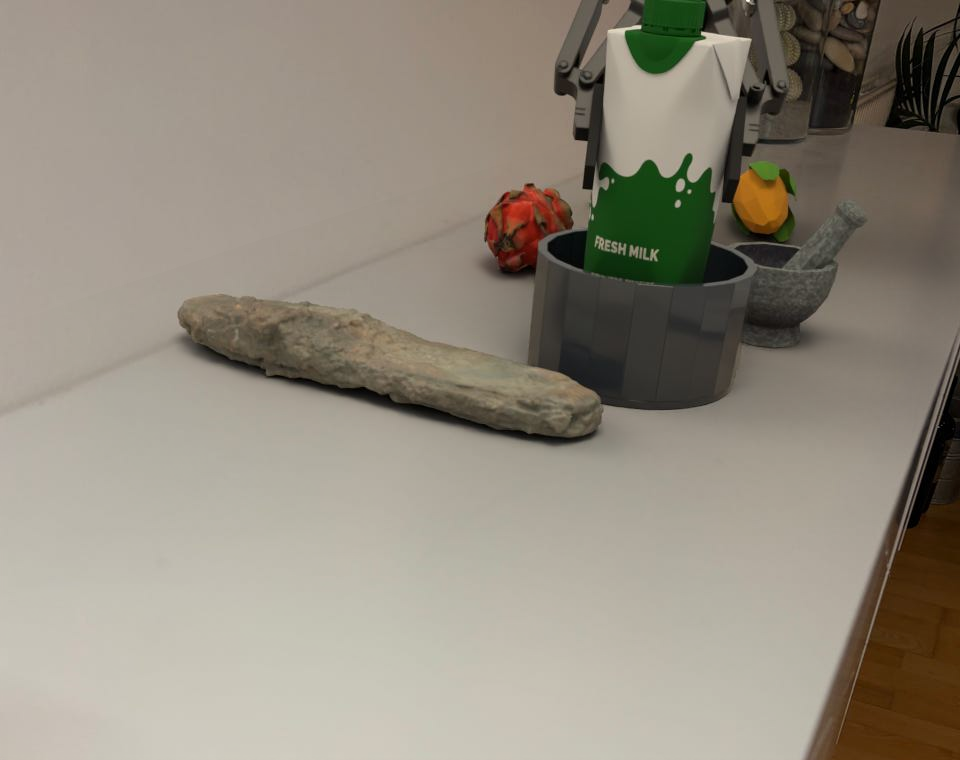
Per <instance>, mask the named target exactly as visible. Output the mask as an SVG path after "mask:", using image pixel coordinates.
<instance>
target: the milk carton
mask: <svg viewBox="0 0 960 760" xmlns="http://www.w3.org/2000/svg"><path fill="white" fill-rule="evenodd" d="M705 8H706V2H705V1H700V0H645V1H644V8H643V15H642V21H641V22H642V25H635V26H632V27H627V28H619V29H613V28H612V29H608V30H607V35H606V37H607V53H606V71H605V87H604V98H603V108H602V116H601V125H600V133H599V141H598V150H597V158H596V167H595V175H594V183H593V190H591V191H592V197H591V196H590V206H589V215H588V224H587V228H588V230H587V239H586V249H585V260H584V270H585V271H589V272H593V273H596V274H600V275H604V276H610V277H616V278H622V279H628V280H634V281H640V282H652V283H664V284H702V281H703V277H704V272H705V268H706V263H707V259H708V255H709V250H710V245H711V241H713V235H714V230H715V225H716V221H717V215H718V210H719V204H720V199H721V196H722V193H721V192H722V190H723V180H724V172H725V166H726V161H727V155H728V150H729V144H730V139H731V133H732V128H733V122H734V116H735V112H736V106H737V101H738V99H739V94H740V88H741V83H742V79H743V74H744V70H745V65H746V61H747V57H748V58H749V52H750V47H751V44H752V38H749V37H739V36H738V37H733V36H725V35H718V34H713V33H707V32H701V31H702V28H703V21H704V14H705Z"/></svg>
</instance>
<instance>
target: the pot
mask: <svg viewBox="0 0 960 760" xmlns="http://www.w3.org/2000/svg"><path fill="white" fill-rule="evenodd" d="M587 230H588V227H583V228H572V229H571V230H566V231H562V232H558V233H554V234H550V235H548V236H547V237H545V238H544V239H542V240H541V241H539V242H538V252H537V263H536V269H535V275H534V285H533V286H534V287H533V296H532V307H531V317H530V327H529V328H530V330H529V340H528V349H527V350H528V352H527V366H531V367H539V368H543V369H547V370H550V371H554V372H558V373H561V374H564V375H565V376H568V377H569V378H571V379H572V380H573V381H576V382H578V383H579V384H580V385H582V386H583V387H585V388H587V389H590V390H593V391H594V392H596V394H597V395H599V397H600V399H601V404H603V405H609V406H614V407H622V408H629V409H641V410H642V409H643V410H675V409H678V410H679V409H688V408H694V407H700V406H703V405H709V404H711V403H714V402H716V401H718V400H720V399H723V398H724V397H725V396H726V395H728V394H729V393H730V391H731V390H732V388H733V385H734V381H735V379H736V376H737V372H738V367H739V361H740V358H741V352H742V348H743V343H744V342H743V338H744V333H745V328H746V323H747V319H748V314H749V309H750V304H751V299H752V294H753V289H754V285H755V280H756V275H757V270H758V268H757V267H756V265H755V263H754V261H753V260H752V259H751V258H749V257H748V256H746V255H744V254H743V253H741V252H739V251H738V250H736V249H733V248H730V247H727V246H728V245H724V244H722V243H719V242H716V241H713V240H711V245H710V250H709V255H708V259H707V263H706V268H705V272H704V277H703V281H702V284H664V283H652V282H640V281H634V280H628V279H622V278H616V277H610V276H604V275H600V274H596V273H593V272H589V271H585V270H584V260H585V249H586V239H587Z"/></svg>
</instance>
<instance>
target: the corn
mask: <svg viewBox="0 0 960 760" xmlns="http://www.w3.org/2000/svg"><path fill="white" fill-rule="evenodd" d="M789 194H790V195H792V196H793V197H794V202H797V184H796V181H795V179H794V178H793V176H792V175H791V173H790V171H788V170H787V169H786V168H779V166H778V164H776V163H774V162H769V161H765V160H759V161H756V162H752V163H749V164H748V169H747V170H746V171H745V172H743V173H742V174H740V181H739V184H738V187H737V190H736V193H735V196H734V199H733V202H732V203H730V209H731V215H732V216H733V219H734V220H735V222H736V223H737V226H738V227H739V229H740V230H741V231H742V233H743V234H745V235H747V236H749V237H750V236H751V232H752V233H756V234H765V235H770V234H771V235H773V237H774V238H775V239H776V240H777V241H778V242H779V243H781V242H786V241H788V240H789V239H790V238H791V236H792V235H793V232H794V229H795V226H796V221H795V219H796V218H795V216H794V214H793V211H792V209H791V207H790V205H789Z"/></svg>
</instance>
